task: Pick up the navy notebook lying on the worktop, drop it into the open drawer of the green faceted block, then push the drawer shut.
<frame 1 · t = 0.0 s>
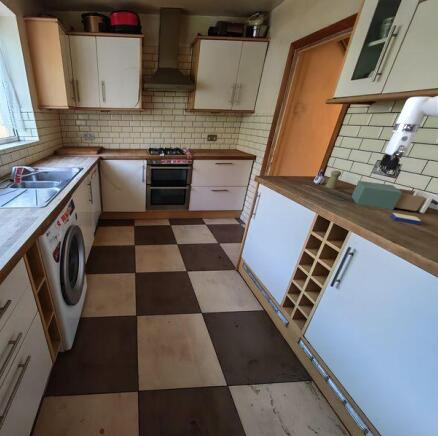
hand: (386, 167, 106), 22 cm above the table, tool pointing down, fingers open, 9 cm apart
drawer: (409, 199, 117), point 5 cm above the table, slide at 10.0 cm
green faceted block: (370, 202, 125), on the table
beige upright figurine: (330, 187, 150), on the table
notebook: (402, 223, 102), on the table
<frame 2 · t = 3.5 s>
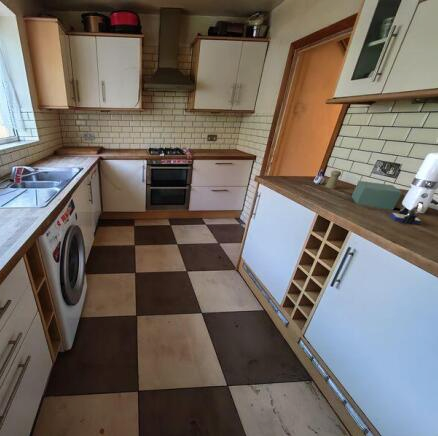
hand: (403, 222, 102), 1 cm above the table, tool pointing down, fingers closed on notebook, 5 cm apart
notebook: (402, 223, 102), on the table, touching gripper
everything else where it was.
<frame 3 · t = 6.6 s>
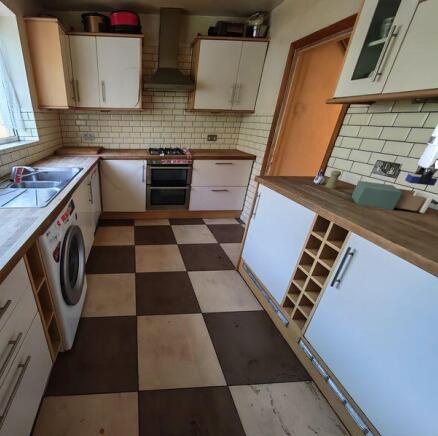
hand: (419, 181, 105), 16 cm above the table, tool pointing down, fingers closed on notebook, 5 cm apart
notebook: (418, 182, 106), point 16 cm above the table, touching gripper
everything else where it was.
when the fingers open (8 cm above the table, at t = 9.9 s): notebook drops 5 cm, resting on drawer.
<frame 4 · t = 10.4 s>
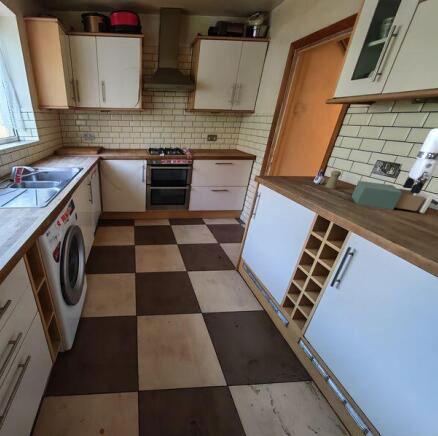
hand: (410, 190, 115), 10 cm above the table, tool pointing down, fingers open, 9 cm apart
drawer: (409, 199, 117), point 5 cm above the table, slide at 10.0 cm, touching notebook
notebook: (402, 204, 119), point 2 cm above the table, touching drawer
everything else where it was.
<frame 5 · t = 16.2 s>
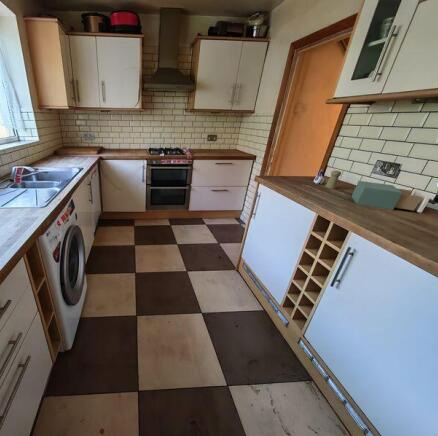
hand: (436, 202, 112), 5 cm above the table, tool pointing down, fingers closed
drawer: (407, 199, 117), point 5 cm above the table, slide at 9.1 cm, touching gripper, notebook
everything else where it was.
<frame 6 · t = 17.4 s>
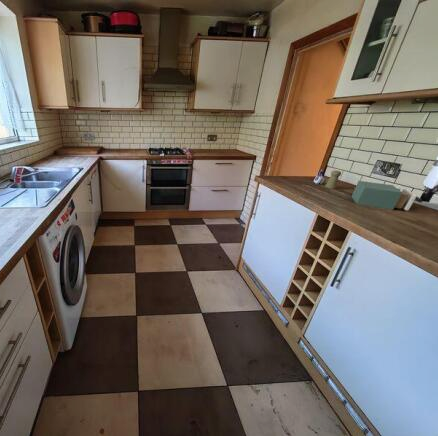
hand: (423, 201, 114), 5 cm above the table, tool pointing down, fingers closed
drawer: (395, 197, 119), point 5 cm above the table, slide at 4.4 cm, touching gripper, notebook
notebook: (388, 201, 121), point 2 cm above the table, touching drawer
everything else where it was.
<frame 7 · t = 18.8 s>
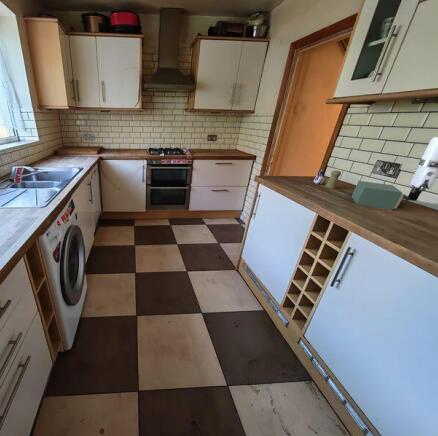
hand: (411, 199, 116), 5 cm above the table, tool pointing down, fingers closed
drawer: (384, 196, 121), point 5 cm above the table, slide at 0.0 cm, touching green faceted block, gripper, notebook
notebook: (377, 200, 123), point 2 cm above the table, touching drawer
everything else where it was.
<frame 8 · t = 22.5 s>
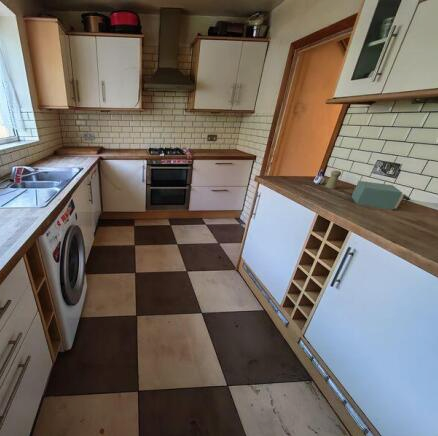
drawer: (384, 196, 121), point 5 cm above the table, slide at 0.0 cm, touching notebook
everything else where it was.
at the end: notebook inside the target area in the green faceted block (2.0 cm from its centre), point 2.0 cm above the green faceted block's base; drawer slide at 0.0 cm; the gripper is holding nothing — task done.
